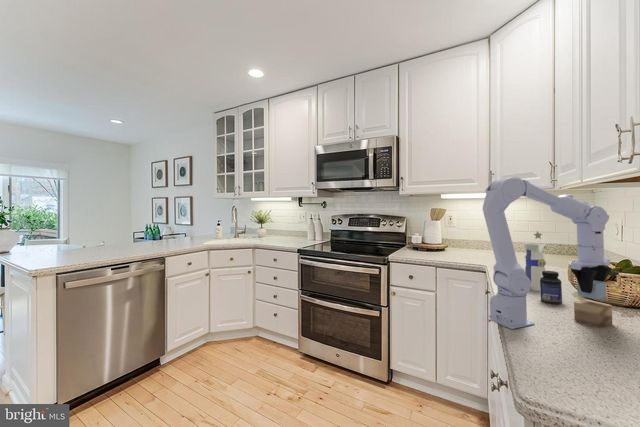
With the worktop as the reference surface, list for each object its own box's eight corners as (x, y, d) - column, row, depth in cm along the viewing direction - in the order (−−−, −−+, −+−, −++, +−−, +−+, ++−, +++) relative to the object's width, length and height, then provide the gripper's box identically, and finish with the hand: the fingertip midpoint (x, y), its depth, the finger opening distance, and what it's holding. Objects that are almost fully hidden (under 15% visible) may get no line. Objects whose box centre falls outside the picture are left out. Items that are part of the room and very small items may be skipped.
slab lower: (599, 328, 80) (598, 318, 80) (574, 321, 86) (574, 311, 86) (612, 325, 82) (612, 315, 82) (587, 318, 87) (587, 308, 87)
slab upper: (598, 318, 80) (598, 308, 80) (574, 311, 85) (573, 301, 85) (612, 315, 81) (611, 305, 81) (587, 308, 87) (586, 299, 87)
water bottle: (554, 290, 116) (552, 230, 116) (536, 291, 115) (534, 231, 115) (536, 285, 125) (534, 229, 125) (519, 286, 123) (517, 230, 123)
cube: (596, 299, 81) (595, 283, 81) (577, 295, 85) (577, 280, 85) (606, 297, 82) (605, 282, 82) (587, 293, 86) (587, 278, 86)
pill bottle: (566, 304, 99) (565, 273, 99) (546, 304, 100) (545, 273, 100) (555, 299, 105) (554, 270, 105) (537, 299, 106) (536, 270, 106)
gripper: (591, 249, 78) (592, 298, 78) (622, 245, 82) (624, 291, 82) (562, 246, 84) (563, 291, 84) (593, 243, 89) (594, 286, 89)
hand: (591, 291), depth 84 cm, fingers closed on cube, 4 cm apart
